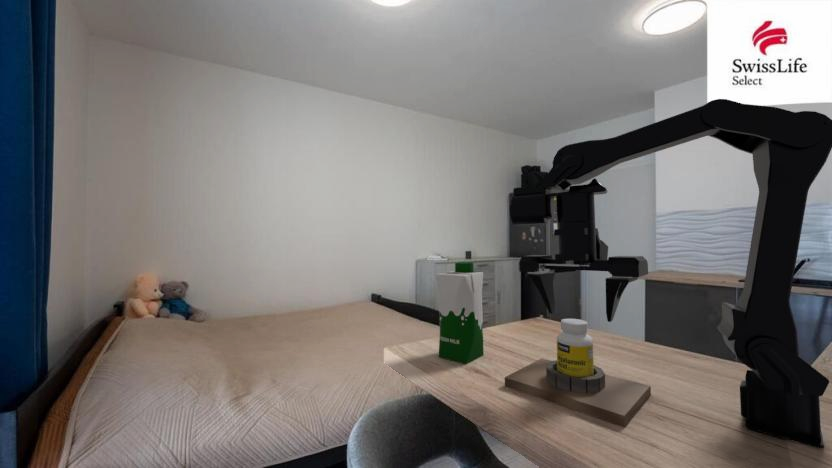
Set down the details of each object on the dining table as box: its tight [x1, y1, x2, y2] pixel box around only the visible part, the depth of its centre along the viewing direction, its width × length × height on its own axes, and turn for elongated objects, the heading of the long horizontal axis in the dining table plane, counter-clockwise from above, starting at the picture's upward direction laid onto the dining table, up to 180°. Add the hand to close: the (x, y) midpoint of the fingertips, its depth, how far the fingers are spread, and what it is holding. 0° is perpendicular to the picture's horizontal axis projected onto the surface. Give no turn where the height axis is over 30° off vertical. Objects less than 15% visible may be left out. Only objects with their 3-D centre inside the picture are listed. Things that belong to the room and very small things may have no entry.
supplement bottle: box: [556, 318, 594, 377], centre depth 55 cm, size 5×5×10 cm
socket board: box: [504, 358, 652, 428], centre depth 55 cm, size 18×13×4 cm
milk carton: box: [434, 261, 485, 365], centre depth 73 cm, size 9×9×20 cm
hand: (579, 317), depth 56 cm, fingers open, 9 cm apart
